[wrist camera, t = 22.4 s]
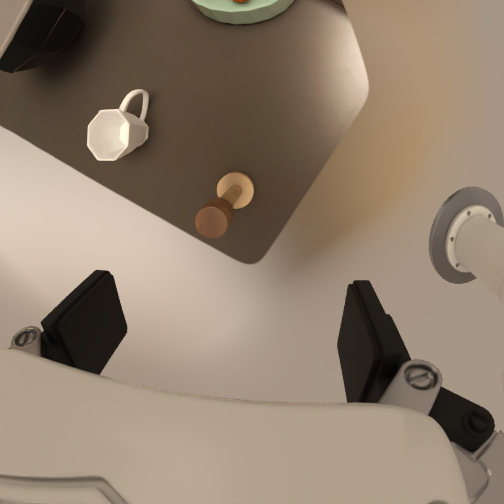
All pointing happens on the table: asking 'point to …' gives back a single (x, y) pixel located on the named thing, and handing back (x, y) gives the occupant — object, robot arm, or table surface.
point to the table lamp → (37, 31)
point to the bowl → (241, 10)
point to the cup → (118, 130)
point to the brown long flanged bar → (224, 204)
